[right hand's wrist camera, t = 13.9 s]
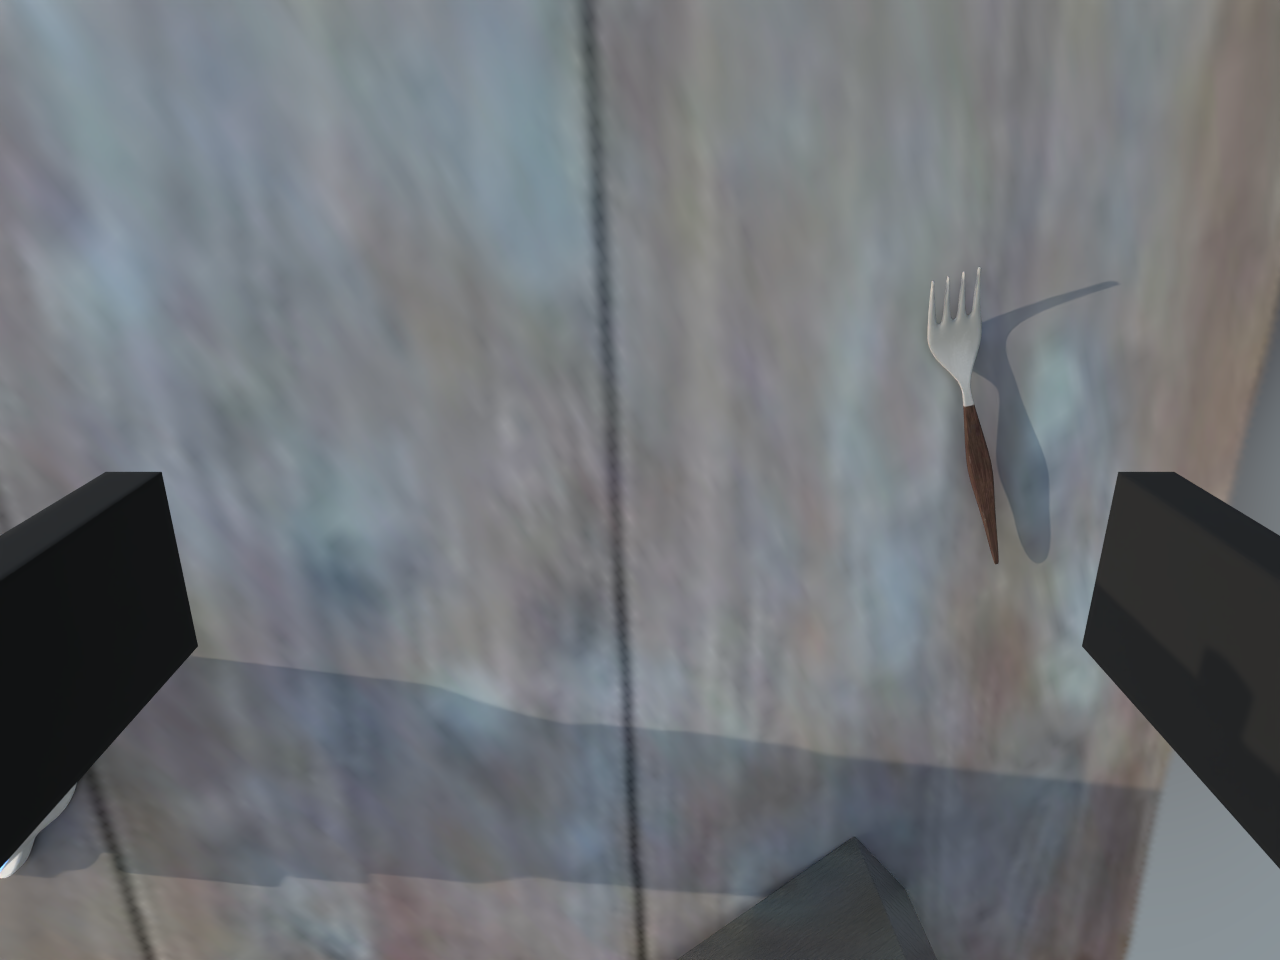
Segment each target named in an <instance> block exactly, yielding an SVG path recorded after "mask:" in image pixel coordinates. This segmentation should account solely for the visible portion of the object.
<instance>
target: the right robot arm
mask: <svg viewBox="0 0 1280 960" xmlns="http://www.w3.org/2000/svg"><path fill="white" fill-rule="evenodd" d="M197 647H198V644H197V639H196V635H195V630H194V625H193V620H192V615H191V611H190V606H189V601H188V596H187V591H186V587H185V582H184V577H183V572H182V567H181V563H180V558H179V553H178V548H177V544H176V539H175V534H174V529H173V524H172V520H171V515H170V510H169V505H168V500H167V496H166V491H165V486H164V481H163V476H162V472H105V473H103V474H102V475H100V476H98V477H97V478H95V479H93V480H92V481H90V482H88V483H87V484H85V485H83V486H82V487H80V488H78V489H77V490H75V491H74V492H72V493H70V494H69V495H67V496H65V497H64V498H62V499H60V500H59V501H57V502H55V503H54V504H52V505H50V506H49V507H47V508H45V509H44V510H42V511H40V512H39V513H37V514H36V515H34V516H32V517H31V518H29V519H27V520H26V521H24V522H22V523H21V524H19V525H17V526H16V527H14V528H12V529H11V530H9V531H7V532H6V533H4V534H2V535H1V536H0V868H1V867H2V866H3V865H4V864H5V863H6V862H7V860H8V859H9V858H10V857H11V856H12V855H13V854H14V853H15V851H16V850H17V849H18V848H19V847H20V846H21V845H22V844H23V842H24V841H25V840H26V839H27V838H28V837H29V836H30V835H31V833H32V832H33V831H34V830H35V829H36V828H37V827H38V826H39V824H40V823H41V822H42V821H43V820H44V819H45V818H46V817H47V815H48V814H49V813H50V812H51V811H52V810H53V809H54V808H55V806H56V805H57V804H58V803H59V802H60V801H61V800H62V799H63V797H64V796H65V795H66V794H67V793H68V792H69V791H70V790H71V788H72V787H73V786H74V785H75V784H76V783H77V782H78V781H79V779H80V778H81V777H82V776H83V775H84V774H85V773H86V772H87V770H88V769H89V768H90V767H91V766H92V765H93V764H94V763H95V761H96V760H97V759H98V758H99V757H100V756H101V755H102V754H103V752H104V751H105V750H106V749H107V748H108V747H109V746H110V745H111V743H112V742H113V741H114V740H115V739H116V738H117V737H118V736H119V734H120V733H121V732H122V731H123V730H124V729H125V728H126V727H127V725H128V724H129V723H130V722H131V721H132V720H133V719H134V718H135V716H136V715H137V714H138V713H139V712H140V711H141V710H142V709H143V707H144V706H145V705H146V704H147V703H148V702H149V701H150V700H151V698H152V697H153V696H154V695H155V694H156V693H157V692H158V691H159V689H160V688H161V687H162V686H163V685H164V684H165V683H166V682H167V680H168V679H169V678H170V677H171V676H172V675H173V674H174V673H175V671H176V670H177V669H178V668H179V667H180V666H181V665H182V664H183V662H184V661H185V660H186V659H187V658H188V657H189V656H190V655H191V653H192V652H193V651H194V650H195V649H196V648H197ZM1082 647H1083V648H1084V649H1085V650H1086V651H1087V652H1088V653H1089V655H1090V656H1091V657H1092V658H1093V659H1094V660H1095V661H1096V662H1097V664H1098V665H1099V666H1100V667H1101V668H1102V669H1103V670H1104V671H1105V673H1106V674H1107V675H1108V676H1109V677H1110V678H1111V679H1112V680H1113V682H1114V683H1115V684H1116V685H1117V686H1118V687H1119V688H1120V689H1121V691H1122V692H1123V693H1124V694H1125V695H1126V696H1127V697H1128V698H1129V700H1130V701H1131V702H1132V703H1133V704H1134V705H1135V706H1136V707H1137V709H1138V710H1139V711H1140V712H1141V713H1142V714H1143V715H1144V716H1145V718H1146V719H1147V720H1148V721H1149V722H1150V723H1151V724H1152V725H1153V727H1154V728H1155V729H1156V730H1157V731H1158V732H1159V733H1160V734H1161V736H1162V737H1163V738H1164V739H1165V740H1166V741H1167V742H1168V743H1169V745H1170V746H1171V747H1172V748H1173V749H1174V750H1175V751H1176V752H1177V754H1178V755H1179V756H1180V757H1181V758H1182V759H1183V760H1184V761H1185V763H1186V764H1187V765H1188V766H1189V767H1190V768H1191V769H1192V770H1193V772H1194V773H1195V774H1196V775H1197V776H1198V777H1199V778H1200V779H1201V781H1202V782H1203V783H1204V784H1205V785H1206V786H1207V787H1208V788H1209V790H1210V791H1211V792H1212V793H1213V794H1214V795H1215V796H1216V797H1217V799H1218V800H1219V801H1220V802H1221V803H1222V804H1223V805H1224V806H1225V808H1226V809H1227V810H1228V811H1229V812H1230V813H1231V814H1232V815H1233V817H1234V818H1235V819H1236V820H1237V821H1238V822H1239V823H1240V824H1241V826H1242V827H1243V828H1244V829H1245V830H1246V831H1247V832H1248V833H1249V835H1250V836H1251V837H1252V838H1253V839H1254V840H1255V841H1256V842H1257V844H1258V845H1259V846H1260V847H1261V848H1262V849H1263V850H1264V851H1265V853H1266V854H1267V855H1268V856H1269V857H1270V858H1271V859H1272V860H1273V862H1274V863H1275V864H1276V865H1277V866H1278V867H1279V868H1280V536H1279V535H1277V534H1276V533H1274V532H1273V531H1271V530H1269V529H1268V528H1266V527H1264V526H1263V525H1261V524H1259V523H1258V522H1256V521H1254V520H1253V519H1251V518H1249V517H1248V516H1246V515H1244V514H1243V513H1241V512H1240V511H1238V510H1236V509H1235V508H1233V507H1231V506H1230V505H1228V504H1226V503H1225V502H1223V501H1221V500H1220V499H1218V498H1216V497H1215V496H1213V495H1211V494H1210V493H1208V492H1206V491H1205V490H1203V489H1202V488H1200V487H1198V486H1197V485H1195V484H1193V483H1192V482H1190V481H1188V480H1187V479H1185V478H1183V477H1182V476H1180V475H1178V474H1177V473H1175V472H1118V476H1117V481H1116V486H1115V491H1114V496H1113V500H1112V505H1111V510H1110V515H1109V520H1108V524H1107V529H1106V534H1105V539H1104V544H1103V548H1102V553H1101V558H1100V563H1099V567H1098V572H1097V577H1096V582H1095V587H1094V591H1093V596H1092V601H1091V606H1090V611H1089V615H1088V620H1087V625H1086V630H1085V635H1084V639H1083V644H1082Z"/></svg>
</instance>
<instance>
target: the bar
mask: <svg viewBox="0 0 1280 960" xmlns="http://www.w3.org/2000/svg"><path fill="white" fill-rule="evenodd" d="M677 960H937V958H936V956H935V954H934V952H933V949H932V947H931V945H930V943H929V941H928V939H927V936H926V934H925V932H924V930H923V928H922V925H921V923H920V921H919V919H918V917H917V914H916V912H915V910H914V908H913V906H912V903H911V901H910V899H909V897H908V895H907V893H906V890H905V889H904V888H903V887H902V886H901V885H900V884H899V883H898V882H897V881H896V880H895V879H894V877H893V876H892V875H891V874H890V873H889V872H888V871H887V870H886V869H885V868H884V867H883V866H882V865H881V864H880V863H879V862H878V861H877V860H876V859H875V857H874V856H873V855H872V854H871V853H870V852H869V851H868V850H867V849H866V848H865V847H864V846H863V845H862V844H861V843H860V842H859V841H858V840H857V838H856V837H853V838H851V839H850V840H849V841H847V842H846V843H844V844H843V845H841V846H840V847H838V848H837V849H836V850H834V851H833V852H831V853H830V854H828V855H827V856H826V857H824V858H823V859H821V860H820V861H818V862H817V863H815V864H814V865H813V866H811V867H810V868H808V869H807V870H805V871H804V872H803V873H801V874H800V875H798V876H797V877H795V878H794V879H792V880H791V881H790V882H788V883H787V884H785V885H784V886H782V887H781V888H780V889H778V890H777V891H775V892H774V893H772V894H771V895H769V896H768V897H767V898H765V899H764V900H762V901H761V902H759V903H758V904H757V905H755V906H754V907H752V908H751V909H749V910H748V911H746V912H745V913H744V914H742V915H741V916H739V917H738V918H736V919H735V920H734V921H732V922H731V923H729V924H728V925H726V926H725V927H723V928H722V929H721V930H719V931H718V932H716V933H715V934H713V935H712V936H711V937H709V938H708V939H706V940H705V941H703V942H702V943H700V944H699V945H698V946H696V947H695V948H693V949H692V950H690V951H689V952H688V953H686V954H685V955H683V956H682V957H680V958H679V959H677Z"/></svg>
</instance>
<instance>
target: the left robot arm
mask: <svg viewBox="0 0 1280 960" xmlns="http://www.w3.org/2000/svg"><path fill="white" fill-rule="evenodd" d="M76 785H77V783H76V784H75V785H74V786H73V787H72V788H71V790H70V791H69V792H68V793H67V794H66V795H65V796H64V797H63V799H62V800H61V801H60V802H59V803H58V804H57V805H56V806H55V808H54V809H53V810H52V811H51V812H50V813H49V814H48V815H47V817H46V818H45V819H44V820H43V821H42V822H41V823H40V824H39V826H38V827H37V828H36V829H35V830H34V831H33V832H32V833H31V835H30V836H29V837H28V838H27V839H26V840H25V841H24V842H23V844H22V845H21V846H20V847H19V848H18V849H17V850H16V851H15V853H14V854H13V855H12V856H11V857H10V858H9V859H8V860H7V862H6V863H5V864H4V865H3V866H2V867H1V868H0V878H6V877H9V876H11V875H12V874H13V873H14V872H15V871H17V870H18V869H19V868H20V867H21V866H22V865H23V864H24V863H25V862H26V860H27V859H28V857H29V854H30V852H31V849H32V846H33V843H34V840H35V837H36V836H37V835H38V833H39V832H40V831H42V830H43V829H44V828H45V827H46V826H47V825H49V824H50V823H51V822H52V821H53V820H55V819H56V818H57V817H58V816H59V815H60V814H61V813H62V812H63V811H64V809H65V808H66V807H67V805H68V804H69V802H70V800H71V798H72V796H73V794H74V792H75V789H76Z"/></svg>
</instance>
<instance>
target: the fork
mask: <svg viewBox="0 0 1280 960" xmlns="http://www.w3.org/2000/svg"><path fill="white" fill-rule="evenodd" d="M980 273H981V267H978V272H977V278H976V284H975V291H974V298H973V307H972V311H971V313H970V315H967V314H966V311H965V272H963V274H962V280H961V287H960V294H959V303H958V312H957V316H956V318H955V319H952V318H951V314H950V285H949V281H950V279H949V276H948V277H947V282H946V290H945V298H944V308H943V317H942V321H941V323H939V324H938V323H937V322H936V316H935V297H934V281H932V282H931V292H930V302H929V315H928V336H927V337H928V345H929V348H930V350H931V352H932V354H933V355H934V357H935V358H936V359H937V360H938V362H939V363H940V364H941V365H942V366H943V367H944V368H945V369H946V370H947V371H948V372H949V373H950V374H951V375H952V376H953V377H954V378H955V379H956V380H957V381H958V383H959V385H960V387H961V390H962V395H963V407H964V428H965V448H966V460H967V467H968V472H969V477H970V480H971V484H972V488H973V491H974V494H975V497H976V500H977V504H978V507H979V510H980V513H981V517H982V520H983V524H984V528H985V531H986V535H987V539H988V542H989V546H990V550H991V553H992V557H993V560H994V563H995V564H998V561H999V560H998V543H997V530H996V516H995V498H994V481H993V471H992V465H991V460H990V456H989V452H988V449H987V445H986V442H985V438H984V435H983V432H982V429H981V425H980V422H979V419H978V415H977V412H976V409H975V405H974V402H973V398H972V394H971V389H970V379H971V374H972V370H973V366H974V363H975V359H976V356H977V353H978V349H979V345H980V340H981V333H982V323H981V313H980Z"/></svg>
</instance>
